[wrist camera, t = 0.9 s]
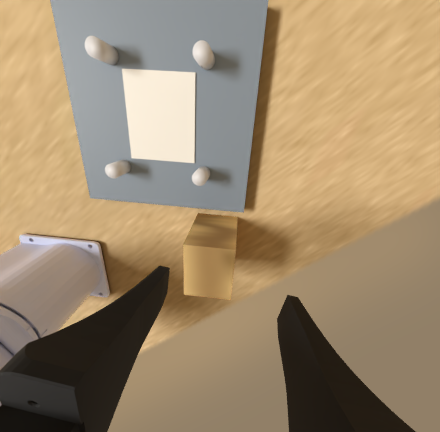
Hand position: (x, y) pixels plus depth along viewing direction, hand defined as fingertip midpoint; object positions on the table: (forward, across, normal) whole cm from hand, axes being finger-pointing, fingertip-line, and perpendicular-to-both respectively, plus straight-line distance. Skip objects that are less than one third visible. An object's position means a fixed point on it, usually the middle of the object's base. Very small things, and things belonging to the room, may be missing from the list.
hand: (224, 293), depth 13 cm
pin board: (+10, +8, -8) cm, 15 cm away
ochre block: (+10, +2, +2) cm, 10 cm away
